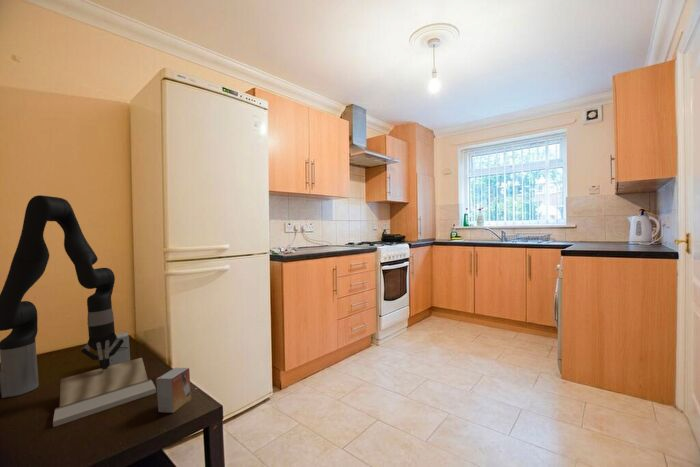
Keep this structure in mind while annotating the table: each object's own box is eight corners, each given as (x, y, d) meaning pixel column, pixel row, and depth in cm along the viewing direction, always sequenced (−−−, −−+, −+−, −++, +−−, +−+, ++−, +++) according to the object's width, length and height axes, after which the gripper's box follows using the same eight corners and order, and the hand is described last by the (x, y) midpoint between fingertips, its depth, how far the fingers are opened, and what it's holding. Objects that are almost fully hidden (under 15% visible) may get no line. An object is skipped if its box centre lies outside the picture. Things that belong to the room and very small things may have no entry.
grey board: (53, 427, 91) (52, 421, 91) (55, 413, 99) (55, 408, 99) (156, 392, 108) (155, 388, 108) (151, 383, 116) (151, 379, 116)
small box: (173, 413, 94) (171, 379, 94) (157, 412, 96) (155, 378, 95) (192, 399, 102) (189, 367, 102) (177, 398, 103) (175, 367, 103)
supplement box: (109, 369, 132) (107, 339, 132) (109, 364, 138) (107, 335, 138) (130, 363, 137) (128, 335, 137) (129, 359, 142) (127, 331, 142)
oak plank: (60, 410, 100) (59, 406, 100) (61, 382, 110) (60, 379, 110) (148, 383, 116) (147, 379, 115) (142, 360, 126) (141, 357, 125)
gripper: (122, 316, 122) (125, 360, 123) (77, 324, 114) (81, 372, 114) (124, 319, 117) (127, 365, 117) (77, 328, 108) (81, 378, 108)
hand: (104, 368), depth 115 cm, fingers closed
